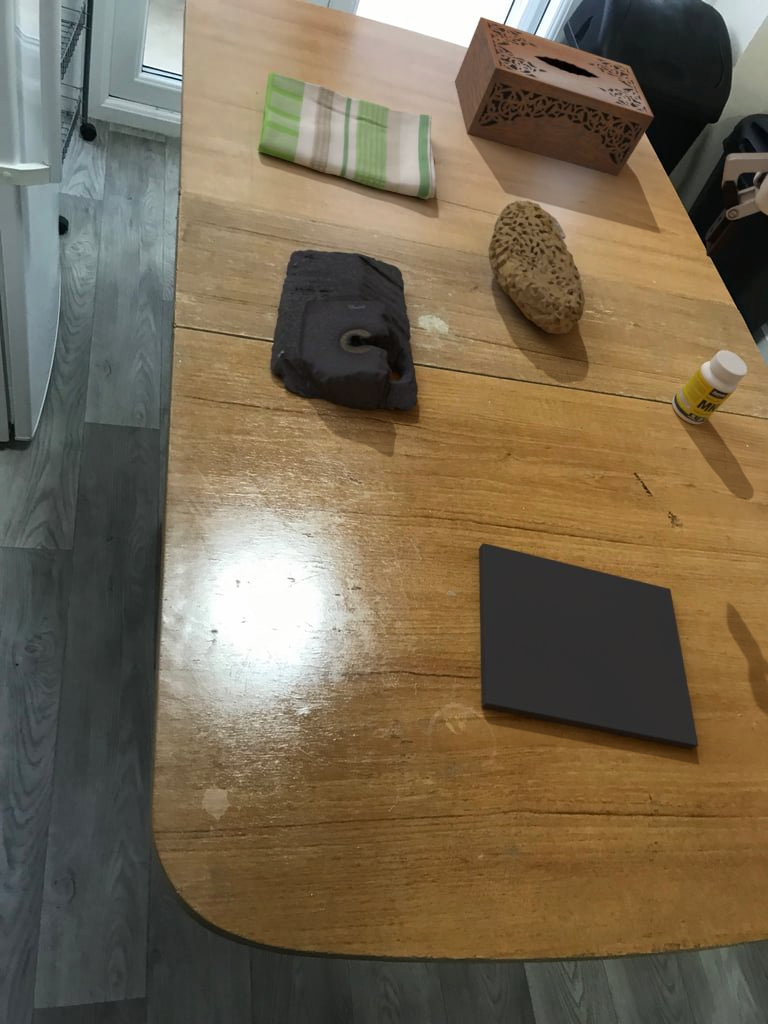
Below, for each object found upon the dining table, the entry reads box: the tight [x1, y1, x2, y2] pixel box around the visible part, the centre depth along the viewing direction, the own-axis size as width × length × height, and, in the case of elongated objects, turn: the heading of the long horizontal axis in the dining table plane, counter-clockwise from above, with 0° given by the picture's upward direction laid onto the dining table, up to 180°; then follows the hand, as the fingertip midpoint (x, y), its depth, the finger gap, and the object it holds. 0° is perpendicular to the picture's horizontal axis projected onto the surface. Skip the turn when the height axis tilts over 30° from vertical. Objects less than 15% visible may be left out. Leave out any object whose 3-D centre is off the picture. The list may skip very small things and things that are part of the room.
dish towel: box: [257, 71, 437, 200], centre depth 110 cm, size 17×23×4 cm
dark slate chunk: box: [269, 249, 419, 411], centre depth 88 cm, size 15×22×5 cm
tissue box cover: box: [454, 16, 655, 177], centre depth 127 cm, size 26×14×10 cm, turn 95°
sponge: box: [487, 200, 586, 335], centre depth 103 cm, size 13×8×20 cm
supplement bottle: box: [671, 349, 748, 425], centre depth 99 cm, size 5×5×8 cm
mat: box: [478, 542, 699, 750], centre depth 76 cm, size 20×16×1 cm
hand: (753, 271), depth 81 cm, fingers open, 9 cm apart
